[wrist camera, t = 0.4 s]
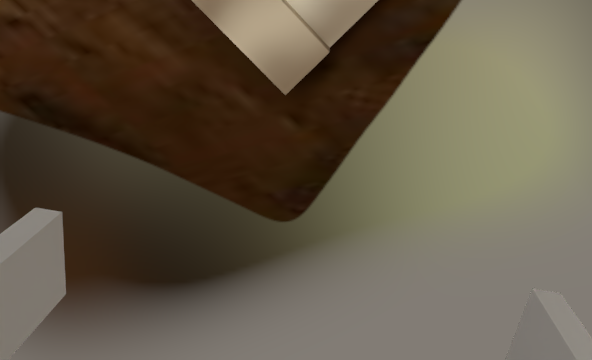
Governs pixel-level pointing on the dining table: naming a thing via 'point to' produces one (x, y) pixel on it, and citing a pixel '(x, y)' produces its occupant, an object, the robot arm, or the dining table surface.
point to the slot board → (284, 31)
